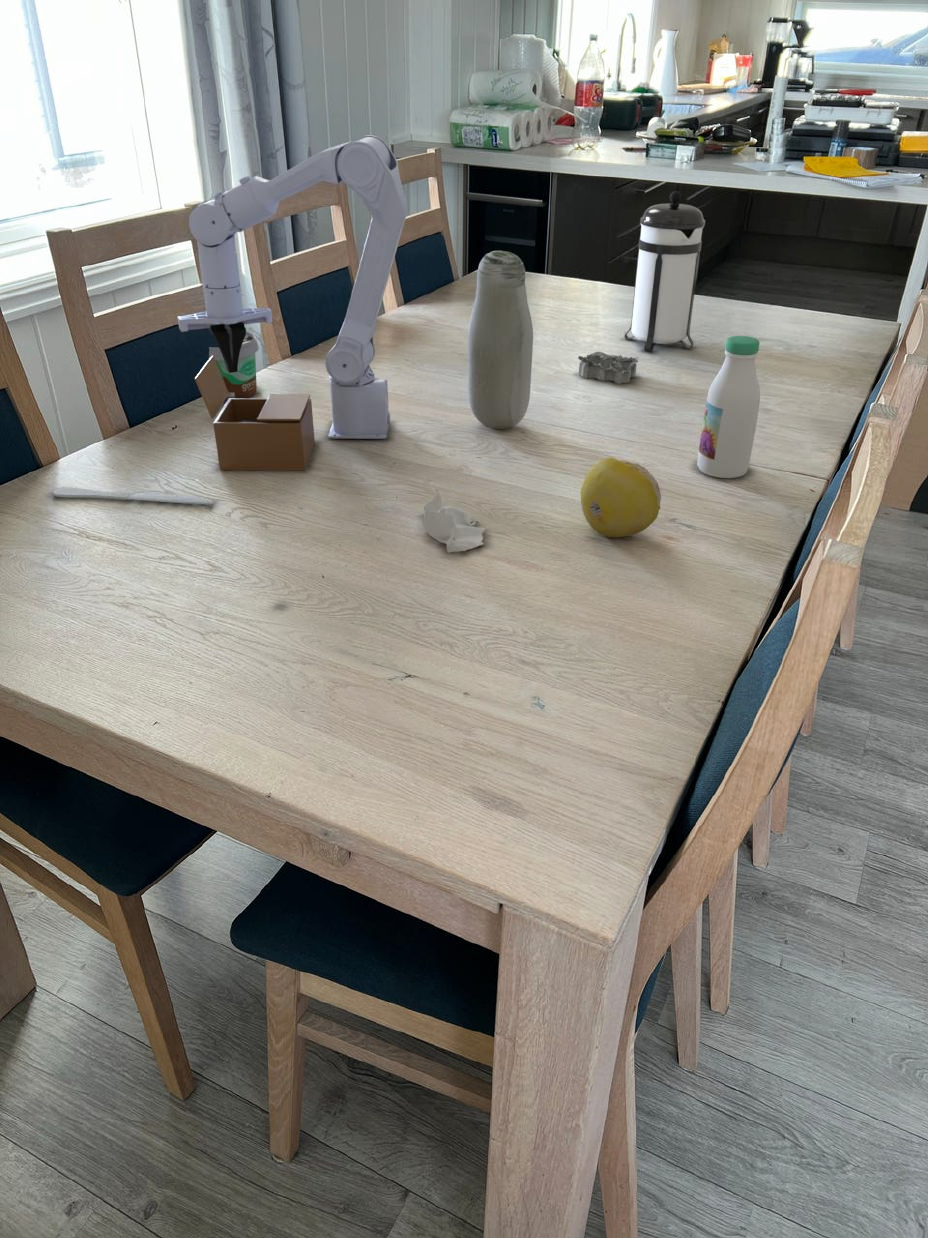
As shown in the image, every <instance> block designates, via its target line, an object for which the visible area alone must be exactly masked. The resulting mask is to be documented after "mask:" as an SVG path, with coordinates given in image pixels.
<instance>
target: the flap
mask: <svg viewBox="0 0 928 1238" xmlns="http://www.w3.org/2000/svg"><path fill="white" fill-rule="evenodd" d="M194 380H195V381H194V382H195V383H196V385H197V387H198V390H199V392H200V395H201V397H202V400H203V403H204V404H205V407H206V410H207V411H208V414H209V417H210V419H211V420H214V419H215V417H216V416H217V414H218V412H219V411H220V410H221V407H222V406H223V405H224V403H225V402H224V401H225V400H226V398H227V397H228V395H229V392H228V390H227V388H226V385H225V383H224V380H223V378H222V375H221V373H220V370H219V368H218V365H217V363H216V360H215V358H214V356H211V357H210V359H209V358H208V360H207V361H206V362H205V364H204V365H203V366H202V368H201V369H200V371H198V373H197V374H196V376H195V377H194Z"/></svg>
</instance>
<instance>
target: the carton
mask: <svg viewBox="0 0 928 1238" xmlns="http://www.w3.org/2000/svg"><path fill="white" fill-rule="evenodd" d="M313 416H314V415H313V403H312V398H311V394H309V393H307V394H305V393H304V394H301V393H295V394H294V393H293V394H292V393H270V394H269V395H268V397H267V398H265V397H263V398H262V397H259V398H258V397H250V398H229V399H228V401H227V402H225V404H223V407H222V409H220V412H219V414H218V415H217V417H216V418H215V420H214V421H213V431H214V437H215V444H216V445H215V446H216V451H217V459H218V463H219V464H218V466H219V470H220V471H306V469H307V466H308V463H309V461H310V458H311V455H312V452H313V450H314V447H315V444H316V442H315V440H316V439H315V429H314V417H313ZM242 420H247V421H252V422H240V421H242Z"/></svg>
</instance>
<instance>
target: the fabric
mask: <svg viewBox="0 0 928 1238" xmlns="http://www.w3.org/2000/svg"><path fill="white" fill-rule="evenodd" d="M435 492H436V495H435V496H434V497H433V498H432V499H431V500H430V501H429V502H428V503H427V504H424V506H423V528H424V530H425V532H426V533H427V535H429V536H430V537H431V538H433V539H435V540H436V541H438V542H439V543H441V544H445V545H446V551H447V553H449V554H450V553H451V552H452V553H453V552H456V553H457V552H466V551H468V550H473V549H475V548H477V547H480V546H482V545H484V542H483V540H484V537H483V533H484V532H485V531H486V528H485V527H479V526H478V527H477V526H476V527H475V525H476V524H480V522H479V520H476V521H474V519H473V517H472V516H471V515H470V514H469V513H468V512H466V511H465V510H463V508H460V507H457V506H449V505H445V506H444V507H443V502H442V498H441V496H440V493H439V492H438V488H435Z"/></svg>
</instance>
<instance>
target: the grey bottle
mask: <svg viewBox="0 0 928 1238" xmlns="http://www.w3.org/2000/svg"><path fill="white" fill-rule="evenodd" d="M476 282H477V283H476V292H475V298H474V303H473V307H472V310H471V316H470V320H469V324H468V332H467V333H468V334H467V361H468V362H467V363H468V365H467V366H468V384H467V385H468V387H467V388H468V400H469V402H468V403H469V407H470V410H471V412H472V414H473V415H474V418H476V419H477V421H478V422H479V423H481V424H482V425H484V426H485V427H488V428H492V429H496V430H502V429H509V428H512V427H514V426H516V425H518V424H520V422H521V421H522V420H523V419H524V417H525V416H526V414H527V411H528V407H529V403H530V397H531V381H532V365H533V351H534V350H533V349H534V328H533V327H534V326H533V320H532V315H531V311H530V307H529V303H528V302H529V301H528V295H527V287H526V267H525V265H524V262H523V260H522V259H521V258H520V257H519V256H518V255H516V254H515V253H513V252H510V251H505V250H492V251H490V252H489V253H486V254H484V256H483V257H482V259H481V260H480V262H479V264H478V268H477V274H476Z"/></svg>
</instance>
